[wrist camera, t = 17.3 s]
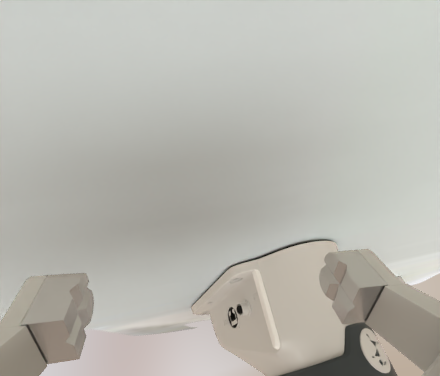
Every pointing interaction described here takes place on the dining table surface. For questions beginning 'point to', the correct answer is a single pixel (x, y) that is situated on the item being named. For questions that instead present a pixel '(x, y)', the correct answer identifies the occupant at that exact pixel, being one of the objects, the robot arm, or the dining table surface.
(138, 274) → the dining table surface
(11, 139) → the dining table surface
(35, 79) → the dining table surface
